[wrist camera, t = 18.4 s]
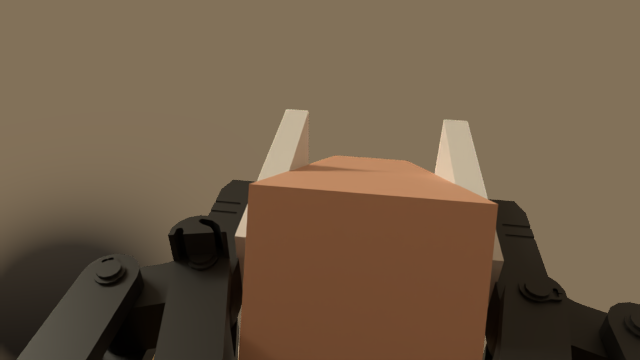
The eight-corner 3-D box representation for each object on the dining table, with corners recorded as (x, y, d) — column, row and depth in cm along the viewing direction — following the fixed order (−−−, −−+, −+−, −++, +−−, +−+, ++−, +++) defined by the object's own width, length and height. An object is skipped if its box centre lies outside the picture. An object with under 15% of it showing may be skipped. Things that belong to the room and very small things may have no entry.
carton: (476, 420, 9) (498, 204, 9) (236, 390, 9) (248, 184, 9) (401, 224, 31) (407, 160, 30) (330, 217, 31) (335, 155, 31)
